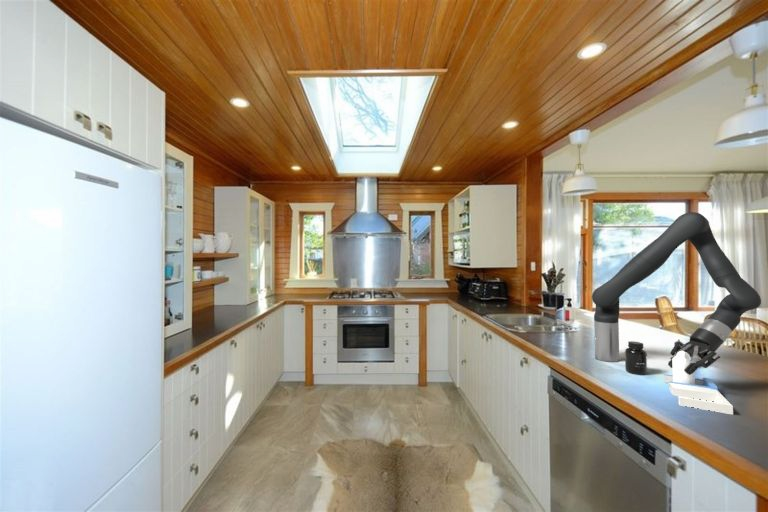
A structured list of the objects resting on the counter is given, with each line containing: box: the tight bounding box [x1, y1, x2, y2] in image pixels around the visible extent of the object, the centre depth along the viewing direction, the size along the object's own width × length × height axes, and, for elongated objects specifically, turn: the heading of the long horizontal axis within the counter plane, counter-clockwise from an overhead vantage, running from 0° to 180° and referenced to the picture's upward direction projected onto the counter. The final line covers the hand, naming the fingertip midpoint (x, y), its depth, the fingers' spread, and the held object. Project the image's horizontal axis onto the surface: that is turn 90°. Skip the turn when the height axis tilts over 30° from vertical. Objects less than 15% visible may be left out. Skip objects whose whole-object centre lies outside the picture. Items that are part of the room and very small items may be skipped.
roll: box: [671, 351, 696, 385], centre depth 114 cm, size 6×12×6 cm
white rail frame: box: [663, 374, 734, 415], centre depth 108 cm, size 12×23×4 cm, turn 148°
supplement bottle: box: [624, 341, 648, 376], centre depth 131 cm, size 7×7×12 cm
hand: (678, 369), depth 114 cm, fingers closed on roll, 5 cm apart
